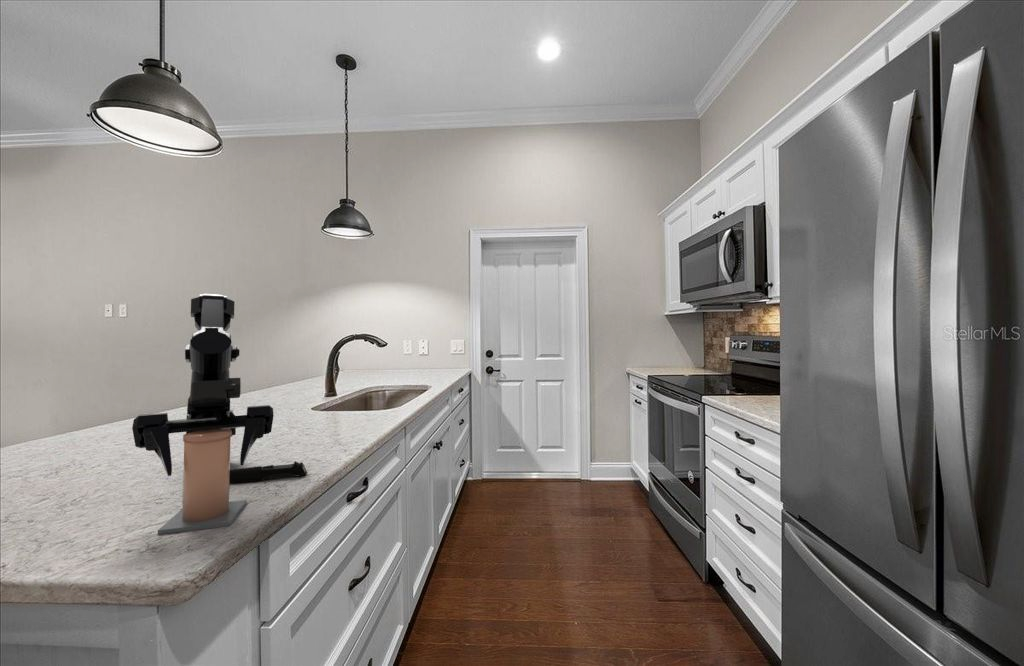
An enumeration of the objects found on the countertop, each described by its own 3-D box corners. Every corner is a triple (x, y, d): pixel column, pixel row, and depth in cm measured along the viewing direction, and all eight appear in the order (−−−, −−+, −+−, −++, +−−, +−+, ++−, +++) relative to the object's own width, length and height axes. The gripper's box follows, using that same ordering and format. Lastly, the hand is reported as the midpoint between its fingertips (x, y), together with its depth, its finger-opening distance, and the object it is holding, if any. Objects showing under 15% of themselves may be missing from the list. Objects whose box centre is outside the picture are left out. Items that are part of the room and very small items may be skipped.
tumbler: (230, 502, 69) (231, 427, 70) (229, 515, 64) (231, 434, 64) (183, 511, 66) (185, 431, 66) (178, 525, 61) (180, 439, 61)
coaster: (246, 503, 70) (246, 499, 71) (229, 525, 62) (229, 521, 62) (184, 509, 68) (184, 506, 68) (157, 534, 59) (157, 530, 59)
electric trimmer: (221, 482, 82) (222, 467, 82) (307, 472, 88) (307, 458, 88) (216, 489, 78) (217, 473, 78) (305, 478, 85) (305, 463, 85)
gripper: (136, 363, 63) (119, 450, 54) (273, 361, 74) (279, 432, 65) (142, 406, 69) (129, 491, 60) (268, 398, 80) (273, 468, 71)
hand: (207, 469), depth 64 cm, fingers open, 9 cm apart
